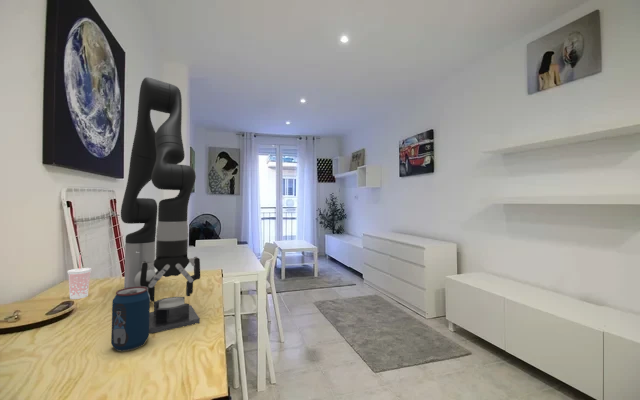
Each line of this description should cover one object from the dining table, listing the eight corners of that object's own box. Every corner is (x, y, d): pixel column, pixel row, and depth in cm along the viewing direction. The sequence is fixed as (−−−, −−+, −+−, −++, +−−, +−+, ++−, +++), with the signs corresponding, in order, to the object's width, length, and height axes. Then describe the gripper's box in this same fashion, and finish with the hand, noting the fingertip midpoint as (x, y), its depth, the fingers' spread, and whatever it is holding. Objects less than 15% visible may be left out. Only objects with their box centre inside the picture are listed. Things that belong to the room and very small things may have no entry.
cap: (158, 314, 77) (158, 299, 77) (182, 310, 80) (182, 296, 80) (159, 322, 72) (159, 306, 72) (185, 317, 75) (185, 302, 75)
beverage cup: (94, 295, 96) (95, 254, 96) (72, 301, 90) (73, 257, 91) (85, 293, 99) (86, 252, 99) (63, 298, 93) (64, 255, 93)
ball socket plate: (143, 317, 78) (144, 300, 78) (191, 309, 84) (191, 293, 84) (146, 334, 68) (146, 314, 68) (199, 323, 74) (199, 305, 74)
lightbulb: (146, 309, 84) (147, 272, 84) (128, 307, 85) (129, 270, 85) (161, 302, 90) (162, 267, 90) (145, 301, 91) (146, 266, 91)
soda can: (150, 335, 67) (151, 284, 68) (147, 348, 61) (148, 292, 61) (114, 341, 64) (115, 287, 64) (107, 355, 58) (109, 296, 58)
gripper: (197, 235, 84) (196, 290, 83) (140, 237, 76) (138, 298, 75) (203, 238, 77) (201, 297, 77) (141, 241, 69) (139, 307, 69)
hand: (170, 298), depth 76 cm, fingers open, 8 cm apart
